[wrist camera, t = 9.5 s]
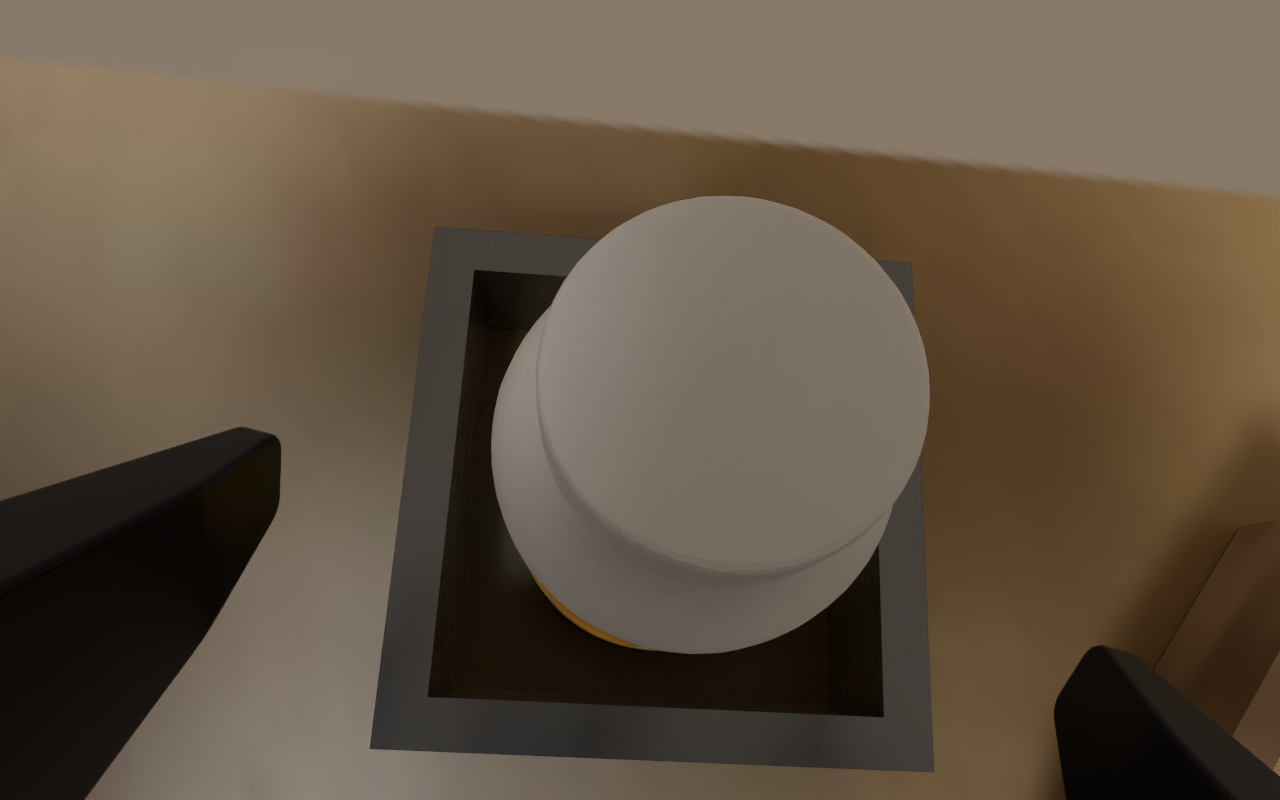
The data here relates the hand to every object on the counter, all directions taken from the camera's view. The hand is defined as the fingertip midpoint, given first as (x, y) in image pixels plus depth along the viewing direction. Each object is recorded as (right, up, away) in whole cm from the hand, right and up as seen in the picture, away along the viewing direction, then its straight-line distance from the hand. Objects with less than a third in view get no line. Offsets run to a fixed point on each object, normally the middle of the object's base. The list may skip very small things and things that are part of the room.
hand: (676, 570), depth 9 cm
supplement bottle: (0, -1, +9) cm, 9 cm away
